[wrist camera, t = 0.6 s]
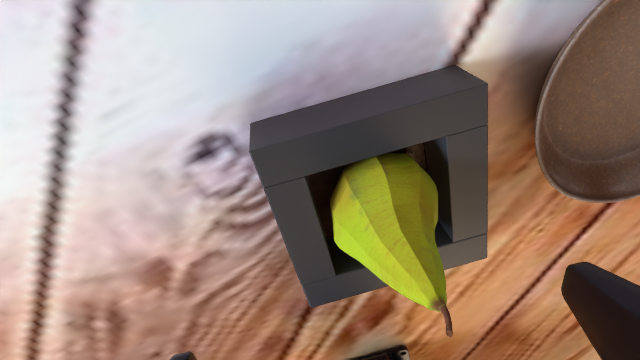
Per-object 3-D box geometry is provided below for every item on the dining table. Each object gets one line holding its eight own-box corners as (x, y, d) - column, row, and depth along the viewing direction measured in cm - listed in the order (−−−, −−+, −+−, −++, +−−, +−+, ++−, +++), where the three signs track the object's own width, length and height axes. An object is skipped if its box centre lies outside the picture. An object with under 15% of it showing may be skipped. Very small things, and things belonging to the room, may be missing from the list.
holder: (462, 224, 27) (487, 258, 24) (304, 269, 27) (310, 308, 24) (455, 64, 21) (488, 83, 18) (250, 123, 21) (249, 151, 18)
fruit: (369, 234, 26) (440, 413, 16) (300, 191, 24) (333, 371, 14) (437, 170, 24) (567, 326, 14) (370, 114, 22) (471, 258, 12)
